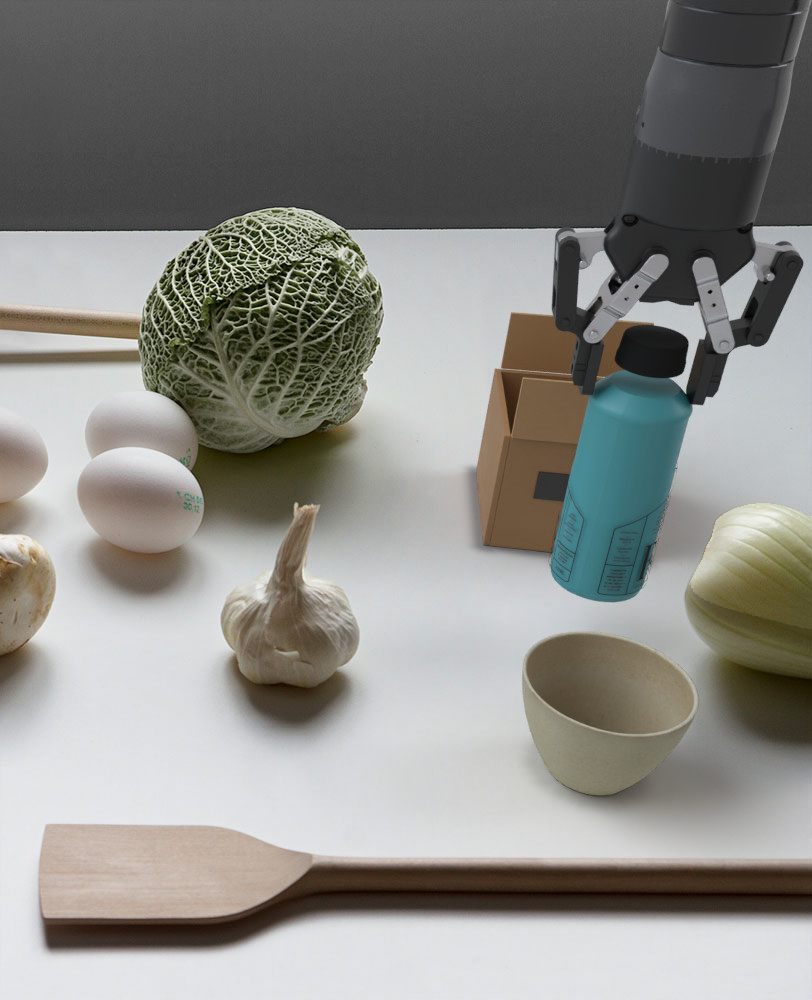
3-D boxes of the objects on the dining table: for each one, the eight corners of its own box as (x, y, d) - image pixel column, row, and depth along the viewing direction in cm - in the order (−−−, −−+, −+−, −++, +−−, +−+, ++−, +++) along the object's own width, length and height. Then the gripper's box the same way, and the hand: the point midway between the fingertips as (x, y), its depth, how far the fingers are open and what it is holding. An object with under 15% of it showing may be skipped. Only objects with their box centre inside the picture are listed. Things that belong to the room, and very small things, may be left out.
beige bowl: (657, 726, 85) (683, 640, 81) (683, 837, 77) (714, 747, 73) (499, 705, 87) (517, 620, 83) (508, 811, 79) (529, 721, 75)
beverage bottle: (639, 630, 88) (719, 363, 77) (537, 609, 90) (601, 346, 79) (639, 579, 93) (714, 322, 82) (542, 560, 95) (604, 306, 84)
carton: (619, 483, 112) (660, 323, 104) (642, 564, 101) (689, 392, 93) (475, 469, 114) (504, 311, 106) (483, 547, 103) (515, 378, 96)
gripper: (580, 145, 72) (526, 411, 81) (861, 159, 70) (774, 433, 79) (566, 110, 79) (517, 360, 88) (823, 122, 76) (746, 379, 85)
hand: (639, 394), depth 83 cm, fingers closed on beverage bottle, 6 cm apart
